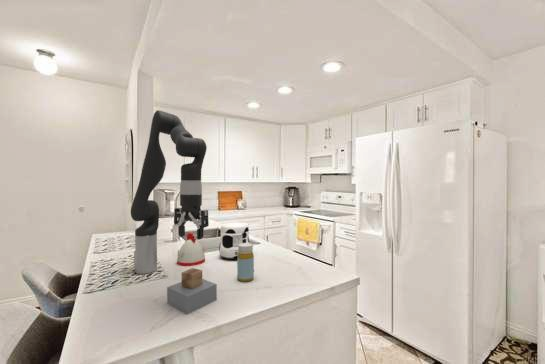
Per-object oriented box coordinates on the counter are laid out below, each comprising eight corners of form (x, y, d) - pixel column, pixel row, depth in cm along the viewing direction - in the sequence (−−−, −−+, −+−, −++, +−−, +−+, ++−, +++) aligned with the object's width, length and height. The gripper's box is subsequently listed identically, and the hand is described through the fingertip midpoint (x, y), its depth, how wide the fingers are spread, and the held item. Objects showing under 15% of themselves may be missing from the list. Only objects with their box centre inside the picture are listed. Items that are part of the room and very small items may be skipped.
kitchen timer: (196, 256, 142) (196, 229, 142) (209, 261, 133) (209, 233, 133) (172, 261, 132) (172, 233, 132) (185, 268, 123) (184, 237, 123)
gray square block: (167, 304, 88) (167, 287, 88) (196, 291, 98) (196, 276, 98) (187, 315, 81) (187, 296, 81) (216, 300, 91) (216, 284, 91)
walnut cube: (181, 286, 88) (181, 272, 88) (191, 281, 93) (191, 268, 93) (192, 289, 86) (192, 274, 86) (202, 284, 91) (202, 270, 91)
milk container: (232, 250, 153) (232, 220, 153) (256, 254, 144) (256, 223, 144) (212, 258, 138) (212, 225, 138) (237, 263, 129) (237, 228, 129)
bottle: (234, 279, 109) (234, 244, 109) (246, 274, 114) (246, 241, 114) (244, 283, 104) (244, 247, 104) (257, 278, 109) (256, 244, 109)
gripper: (168, 192, 91) (168, 237, 91) (199, 194, 85) (198, 242, 85) (184, 191, 98) (183, 233, 98) (213, 193, 91) (213, 237, 92)
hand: (190, 237), depth 91 cm, fingers open, 8 cm apart
